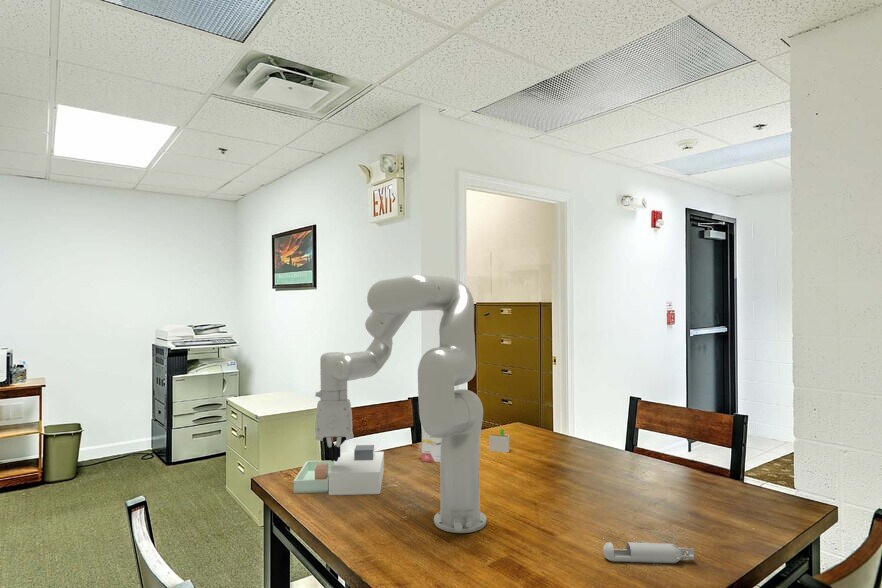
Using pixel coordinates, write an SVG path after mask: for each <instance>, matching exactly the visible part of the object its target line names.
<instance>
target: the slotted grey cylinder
mask: <svg viewBox="0 0 882 588" xmlns="http://www.w3.org/2000/svg"><path fill="white" fill-rule="evenodd" d="M672 532H673V537H672V538H673V539H672V541H673V543H659V542H657V543H656V542H655V543H653V542H633V541H632V542H631V541H630V542H629V541H627V542H626V544H625V545H626V546H625V549H621V548H614V545H613V543H612V542H611V541H609V542H606V543H605V544H604V545H603V547H602V553H603V555H604V557H605V558H606V559H607V560H608V561H610V562H614V563H615V562H619V563H620V562H621V563H651V564H652V563H653V564H654V563H656V564H677V563H678V562H679V561H682V560H683V561H690V560H693V561H694V560H695V548H691V547H690V548H688V547H678V546H677V545H676V544H675V530H674V529H672Z"/></svg>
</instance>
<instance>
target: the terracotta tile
mask: <svg viewBox="0 0 882 588" xmlns="http://www.w3.org/2000/svg"><path fill="white" fill-rule="evenodd" d="M327 477H328V463H318V464H317V466H316V468H315V480H317V479H327Z"/></svg>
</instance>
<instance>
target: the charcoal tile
mask: <svg viewBox="0 0 882 588" xmlns="http://www.w3.org/2000/svg"><path fill="white" fill-rule="evenodd" d="M353 452H354V460H373V458H374V452H375V444H363V445H362V444H360V445H359V444H358V445H357V444H356V445H355V448H354V451H353Z"/></svg>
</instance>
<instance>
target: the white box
mask: <svg viewBox="0 0 882 588" xmlns="http://www.w3.org/2000/svg"><path fill="white" fill-rule="evenodd" d="M384 471H385V451H374V458H373V460H354V451H349V452H348V451H345V452H344V451H340V457H338V460H337V461H335V462H334V464H333V466H332V468H331V470H330V472H329V492H328V496H345V495H346V496H347V495H348V496H350V495H351V496H352V495H354V496H355V495H356V496H358V495H380V494H381V489H382V483H383V478H384V473H385V472H384Z"/></svg>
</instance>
